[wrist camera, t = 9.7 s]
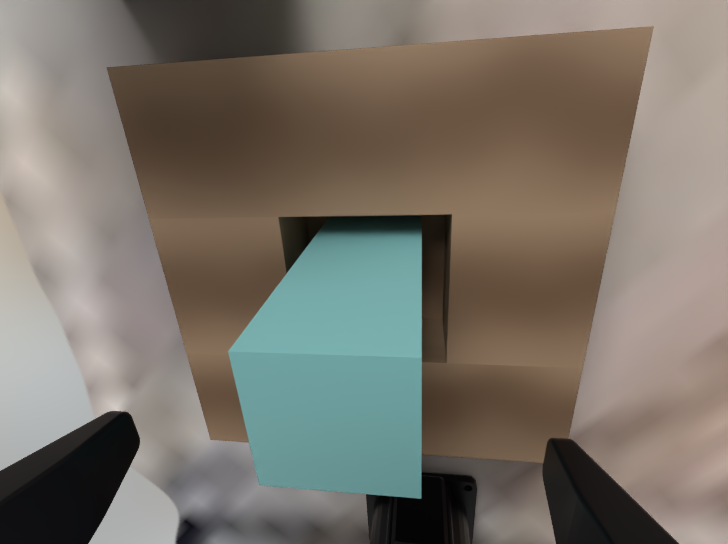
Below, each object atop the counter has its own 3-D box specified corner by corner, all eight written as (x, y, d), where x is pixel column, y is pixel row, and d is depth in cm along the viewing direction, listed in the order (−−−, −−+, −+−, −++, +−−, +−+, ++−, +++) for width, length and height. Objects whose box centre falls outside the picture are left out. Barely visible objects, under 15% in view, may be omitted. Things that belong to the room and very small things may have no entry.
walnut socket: (537, 399, 20) (562, 464, 17) (244, 384, 23) (210, 439, 19) (593, 43, 14) (653, 25, 10) (176, 73, 16) (106, 67, 13)
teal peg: (421, 299, 18) (421, 498, 9) (336, 298, 19) (259, 485, 10) (421, 215, 17) (421, 358, 8) (329, 217, 17) (227, 351, 8)
